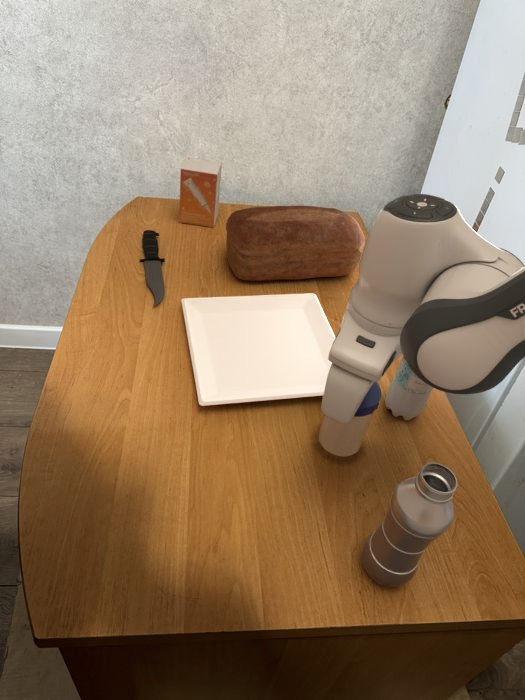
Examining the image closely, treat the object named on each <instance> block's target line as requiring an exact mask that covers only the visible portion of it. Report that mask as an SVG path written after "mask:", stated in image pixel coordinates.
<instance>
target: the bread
mask: <svg viewBox="0 0 525 700" xmlns="http://www.w3.org/2000/svg"><path fill="white" fill-rule="evenodd" d="M225 231H226V248H225V249H226V250H225V254H226V258H227V261H228V264H229V266H230V269H231V271H232V273H233V274H234V275H235V276H236V277H237V278H238V279H239V280H243V281H250V282H262V281H263V282H264V281H273V280H277V281H278V280H305V279H312V278H313V279H314V278H324V277H325V278H326V277H327V278H331V277H333V278H334V277H343V276H346V275H349V274H352V273H354V272H355V271H356V269H357V267H358V266H359V263H360V260H361V256H362V253H363V250H364V247H365V244H366V237H365V235H364V232H363V230H362V228H361V226H360V224H359V222H358V220H357V219H355V217H353V215H350V214H349V213H347V212H345V211H342V210H341V209H338V208H335V207H324V206H314V205H273V206H272V205H271V206H256V207H255V206H254V207H247V208H242V209H238V210H234V211H233V212H232V213H230V214H229V216H228V218H227V219H226V224H225Z"/></svg>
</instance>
